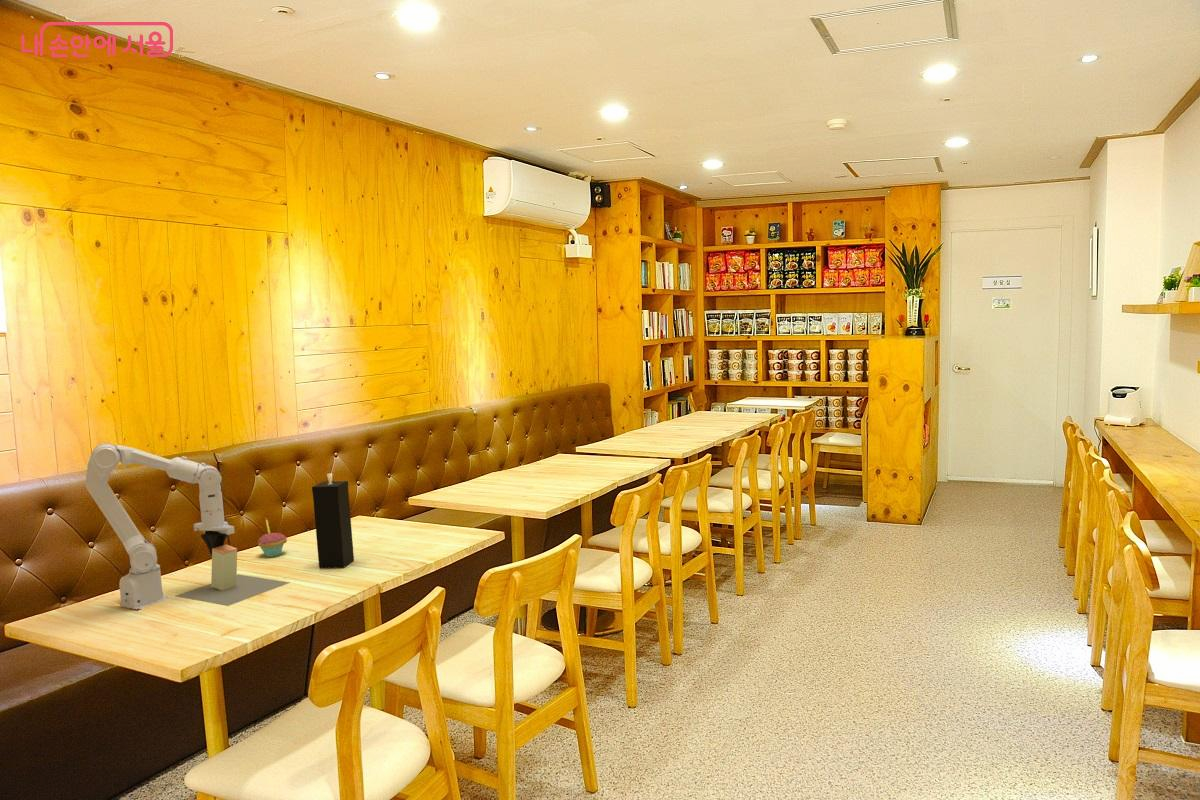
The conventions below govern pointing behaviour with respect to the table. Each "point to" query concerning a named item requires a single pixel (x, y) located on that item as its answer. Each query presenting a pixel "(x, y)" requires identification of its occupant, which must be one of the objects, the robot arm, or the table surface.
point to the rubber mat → (233, 590)
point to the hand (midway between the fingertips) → (216, 557)
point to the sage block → (224, 567)
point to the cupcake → (272, 543)
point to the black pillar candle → (333, 523)
